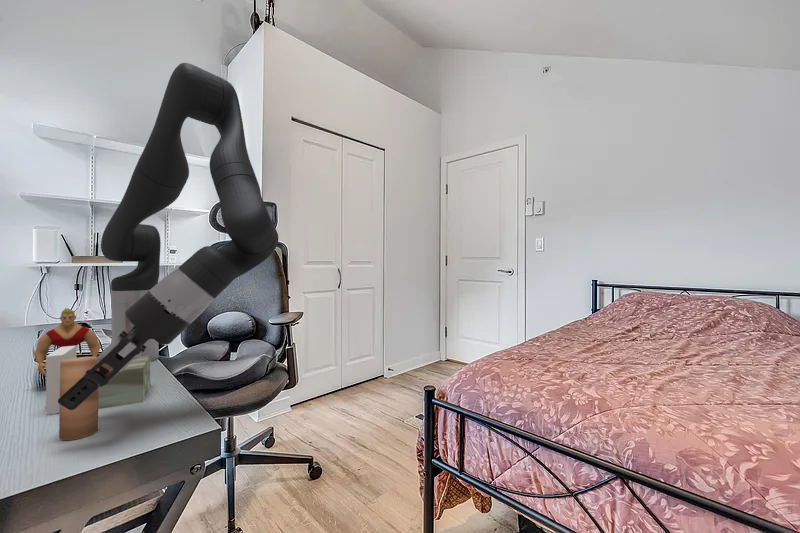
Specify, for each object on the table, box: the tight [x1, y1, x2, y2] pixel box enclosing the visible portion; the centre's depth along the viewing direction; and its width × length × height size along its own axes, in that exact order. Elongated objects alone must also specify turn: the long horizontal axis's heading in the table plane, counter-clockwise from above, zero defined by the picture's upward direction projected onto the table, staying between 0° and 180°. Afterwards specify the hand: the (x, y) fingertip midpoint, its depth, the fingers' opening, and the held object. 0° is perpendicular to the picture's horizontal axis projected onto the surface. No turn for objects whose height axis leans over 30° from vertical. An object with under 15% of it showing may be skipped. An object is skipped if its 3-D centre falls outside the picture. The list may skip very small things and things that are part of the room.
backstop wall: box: [45, 346, 78, 416], centre depth 60 cm, size 8×2×9 cm, turn 30°
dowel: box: [58, 356, 99, 441], centre depth 50 cm, size 4×4×10 cm
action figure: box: [33, 307, 101, 376], centre depth 71 cm, size 10×4×15 cm, turn 129°
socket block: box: [98, 355, 151, 410], centre depth 64 cm, size 10×10×6 cm
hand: (73, 395), depth 50 cm, fingers open, 8 cm apart
